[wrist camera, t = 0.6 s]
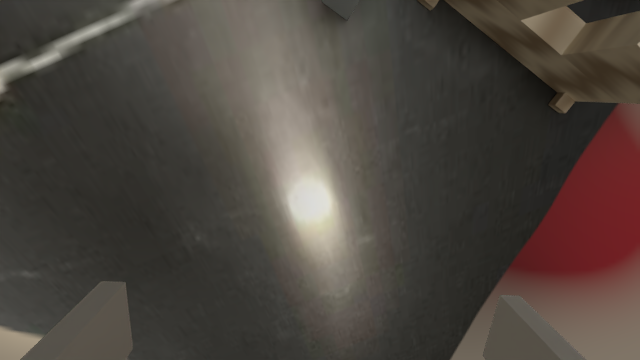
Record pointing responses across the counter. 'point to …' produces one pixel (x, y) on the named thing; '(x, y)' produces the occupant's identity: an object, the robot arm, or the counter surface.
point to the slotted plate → (342, 6)
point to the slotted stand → (563, 47)
